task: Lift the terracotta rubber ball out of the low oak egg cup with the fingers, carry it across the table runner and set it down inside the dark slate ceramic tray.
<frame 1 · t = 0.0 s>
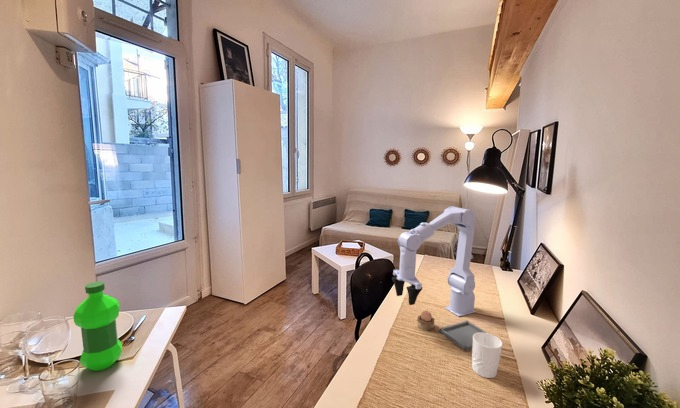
hand: (405, 299, 113), 10 cm above the table, fingers open, 7 cm apart
ball: (425, 321, 114), point 2 cm above the table, touching egg cup
tray: (466, 336, 108), on the table
plastic bottle: (103, 365, 89), on the table
egg cup: (425, 326, 114), on the table
white cup: (484, 371, 91), on the table
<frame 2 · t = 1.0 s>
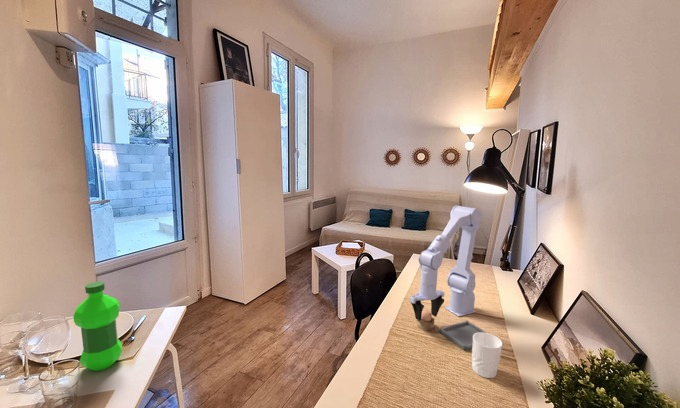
hand: (426, 317, 113), 4 cm above the table, fingers open, 7 cm apart
nothing on the table moved.
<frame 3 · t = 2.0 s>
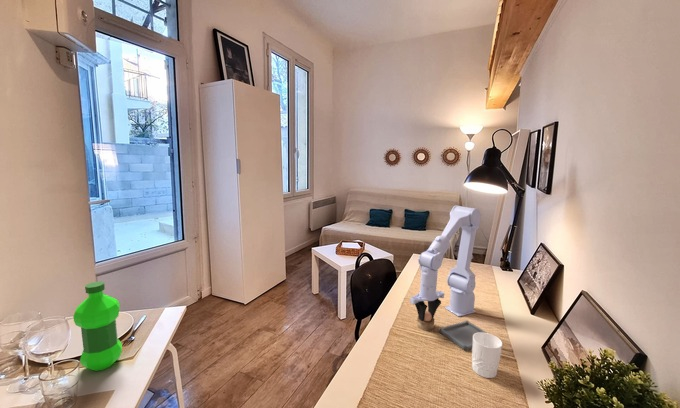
hand: (426, 318, 113), 3 cm above the table, fingers closed on ball, 4 cm apart
ball: (425, 321, 114), point 2 cm above the table, touching egg cup, gripper
everything else where it was.
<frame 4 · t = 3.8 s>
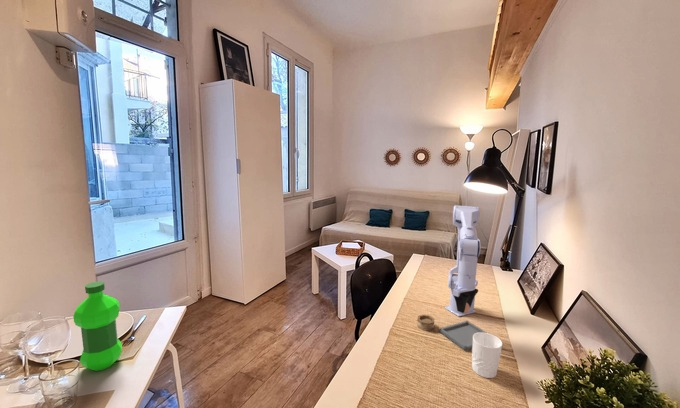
hand: (463, 309, 107), 10 cm above the table, fingers closed on ball, 4 cm apart
ball: (463, 312, 107), point 9 cm above the table, touching gripper
everything else where it was.
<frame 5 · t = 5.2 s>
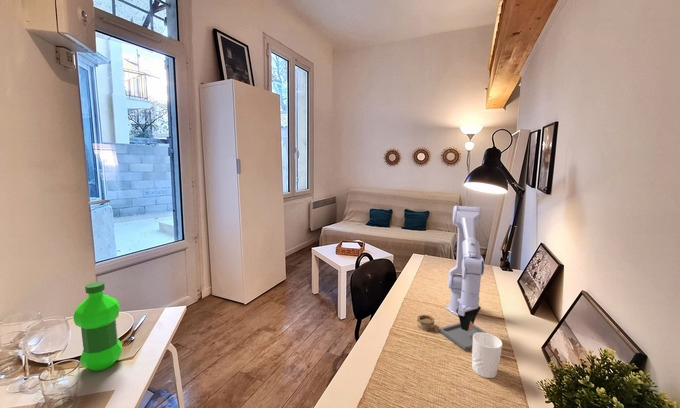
hand: (467, 327, 107), 4 cm above the table, fingers closed on ball, 4 cm apart
ball: (466, 330, 107), point 2 cm above the table, touching gripper
everything else where it was.
when the fingers open (4 cm above the table, at t = 5.9 s): ball drops 2 cm, resting on tray.
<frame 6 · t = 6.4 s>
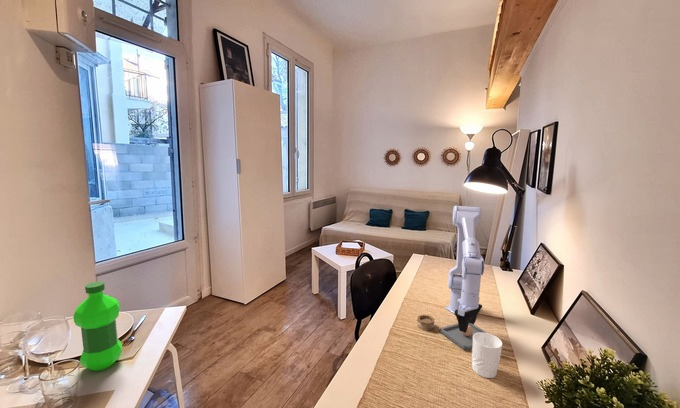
hand: (467, 327, 107), 4 cm above the table, fingers open, 7 cm apart
ball: (466, 335, 108), resting on tray
everything else where it was.
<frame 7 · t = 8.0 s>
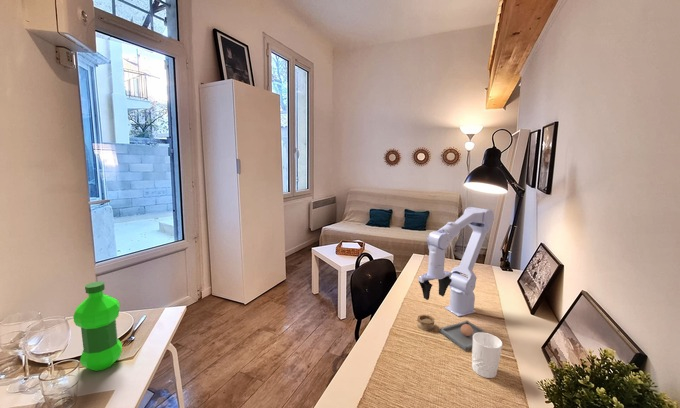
hand: (433, 297, 116), 10 cm above the table, fingers open, 7 cm apart
nothing on the table moved.
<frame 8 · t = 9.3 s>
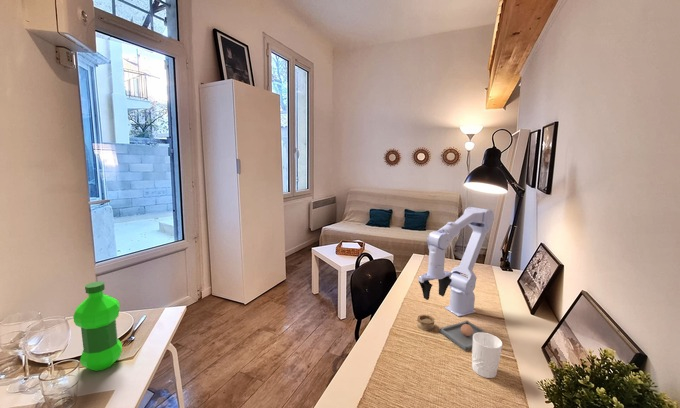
hand: (433, 297, 116), 10 cm above the table, fingers open, 7 cm apart
nothing on the table moved.
at the end: ball inside the target area on the tray (0.0 cm from its centre), point 0.5 cm above the tray's base; the gripper is holding nothing; ball touching tray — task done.
